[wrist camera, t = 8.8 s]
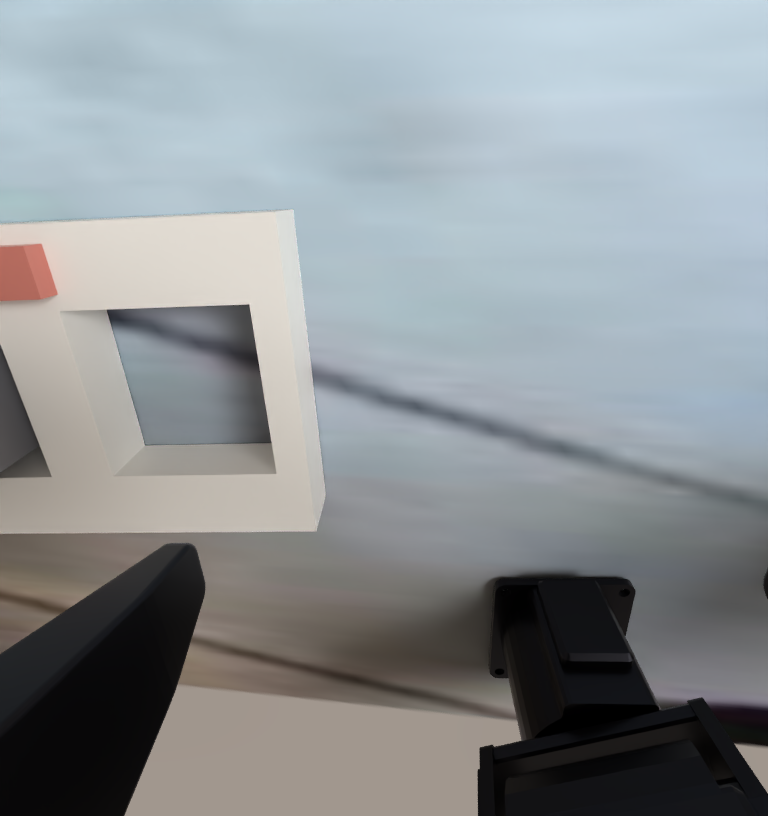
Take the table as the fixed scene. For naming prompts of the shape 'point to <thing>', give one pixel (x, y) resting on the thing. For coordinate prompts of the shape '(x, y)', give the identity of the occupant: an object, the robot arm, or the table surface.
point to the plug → (13, 420)
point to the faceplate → (108, 389)
